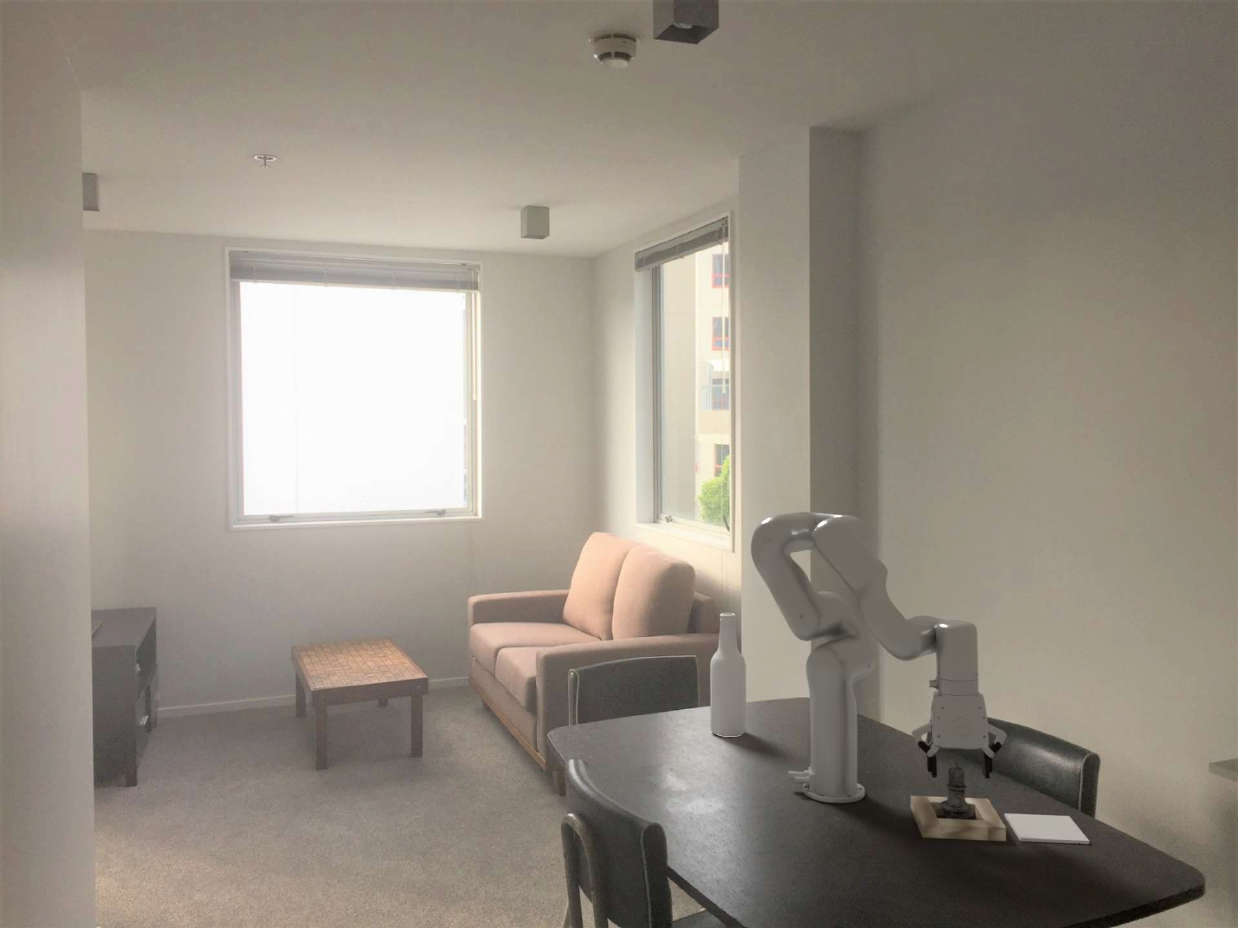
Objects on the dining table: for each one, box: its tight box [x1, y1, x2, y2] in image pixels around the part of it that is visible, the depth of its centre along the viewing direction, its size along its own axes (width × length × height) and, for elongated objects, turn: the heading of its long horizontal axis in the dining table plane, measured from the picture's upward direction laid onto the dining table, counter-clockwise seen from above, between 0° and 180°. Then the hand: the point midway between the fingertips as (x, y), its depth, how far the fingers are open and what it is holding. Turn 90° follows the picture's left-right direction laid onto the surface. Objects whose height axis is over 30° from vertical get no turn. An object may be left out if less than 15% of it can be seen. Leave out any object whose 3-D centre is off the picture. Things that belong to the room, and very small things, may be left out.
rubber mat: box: [1004, 813, 1090, 845], centre depth 191 cm, size 12×12×1 cm
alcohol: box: [709, 612, 747, 736], centre depth 253 cm, size 9×9×30 cm
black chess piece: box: [940, 761, 973, 820], centre depth 194 cm, size 6×6×12 cm
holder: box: [910, 795, 1007, 842], centre depth 194 cm, size 15×15×2 cm
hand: (959, 775), depth 193 cm, fingers open, 9 cm apart
